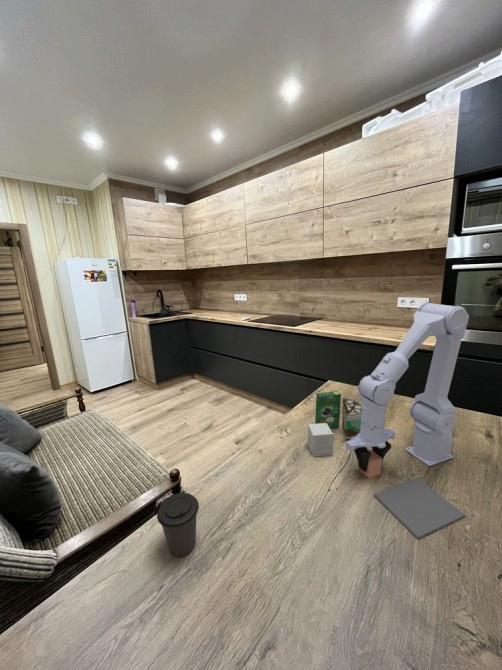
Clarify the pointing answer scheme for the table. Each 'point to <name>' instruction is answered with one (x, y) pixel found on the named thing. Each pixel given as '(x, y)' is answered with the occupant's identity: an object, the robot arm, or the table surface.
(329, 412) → the coffee box
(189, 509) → the coffee cup
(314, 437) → the product box
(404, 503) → the mat
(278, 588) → the table surface
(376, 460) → the block
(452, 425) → the robot arm
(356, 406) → the food container
